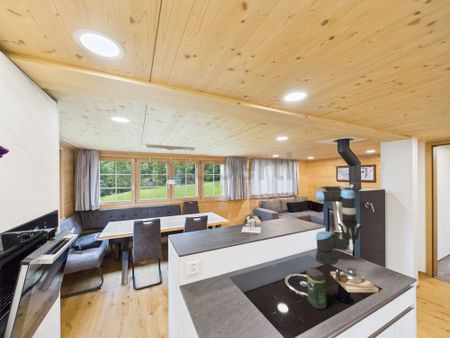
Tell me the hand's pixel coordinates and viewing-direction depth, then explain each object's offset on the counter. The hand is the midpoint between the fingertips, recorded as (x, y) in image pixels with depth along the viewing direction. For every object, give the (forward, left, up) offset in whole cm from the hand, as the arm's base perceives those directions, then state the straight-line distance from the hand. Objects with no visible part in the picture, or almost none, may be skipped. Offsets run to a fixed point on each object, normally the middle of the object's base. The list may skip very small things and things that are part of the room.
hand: (351, 249), depth 119 cm
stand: (-2, 0, -23) cm, 23 cm away
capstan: (-1, -3, -20) cm, 21 cm away
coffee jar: (+18, -31, -23) cm, 43 cm away
